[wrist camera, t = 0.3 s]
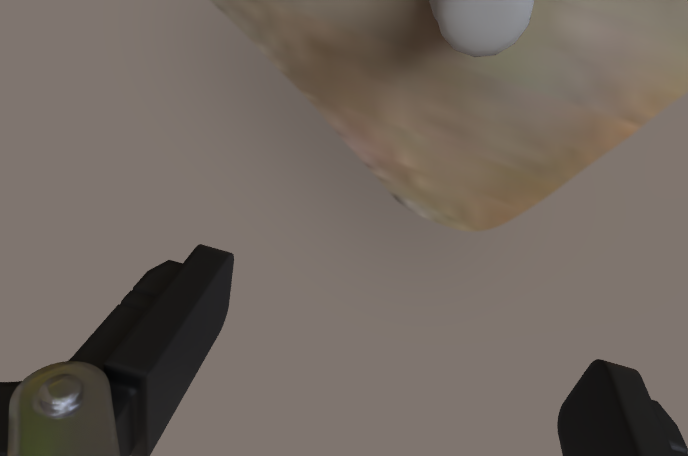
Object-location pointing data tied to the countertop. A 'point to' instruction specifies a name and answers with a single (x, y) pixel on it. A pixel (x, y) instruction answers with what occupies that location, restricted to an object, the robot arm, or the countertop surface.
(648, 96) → the countertop surface
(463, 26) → the salt shaker
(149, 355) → the robot arm
